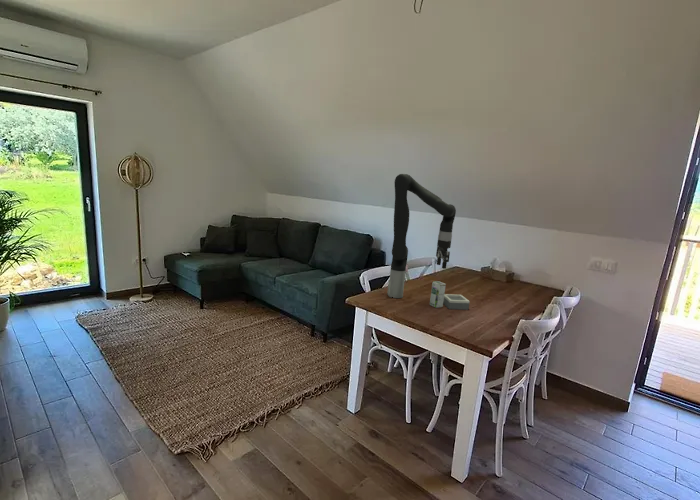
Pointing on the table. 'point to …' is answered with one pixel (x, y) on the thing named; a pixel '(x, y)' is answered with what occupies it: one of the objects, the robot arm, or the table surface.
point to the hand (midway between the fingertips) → (441, 266)
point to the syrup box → (437, 294)
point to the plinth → (456, 302)
